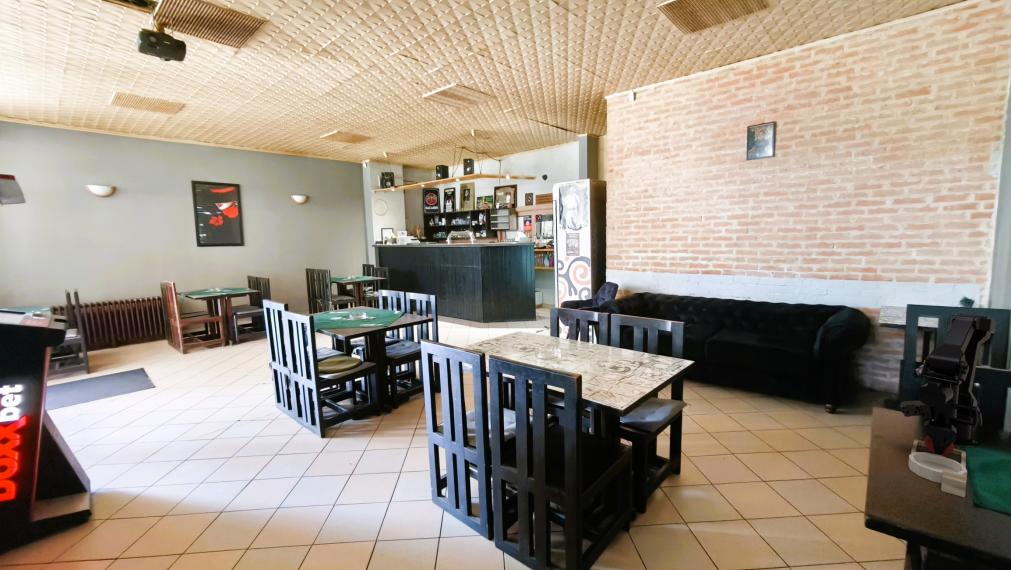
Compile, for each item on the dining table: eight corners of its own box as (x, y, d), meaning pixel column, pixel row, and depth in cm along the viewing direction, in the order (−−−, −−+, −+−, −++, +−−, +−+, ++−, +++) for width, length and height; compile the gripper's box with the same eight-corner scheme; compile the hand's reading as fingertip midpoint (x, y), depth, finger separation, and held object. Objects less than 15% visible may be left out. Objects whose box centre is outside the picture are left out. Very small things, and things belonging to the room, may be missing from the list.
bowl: (941, 462, 117) (941, 452, 117) (977, 485, 107) (978, 474, 106) (898, 461, 119) (899, 451, 118) (931, 484, 108) (931, 473, 108)
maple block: (941, 484, 108) (942, 469, 108) (964, 490, 105) (965, 475, 105) (941, 491, 105) (942, 476, 105) (964, 497, 103) (966, 482, 102)
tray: (914, 442, 128) (914, 439, 127) (965, 455, 120) (965, 451, 120) (910, 456, 121) (911, 452, 120) (965, 470, 113) (965, 466, 113)
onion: (958, 462, 117) (961, 435, 116) (934, 461, 118) (936, 434, 117) (941, 451, 122) (943, 425, 121) (918, 450, 124) (920, 424, 123)
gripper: (906, 381, 130) (903, 428, 132) (900, 400, 118) (896, 451, 120) (959, 390, 122) (955, 440, 124) (958, 411, 109) (953, 466, 111)
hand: (938, 448), depth 120 cm, fingers open, 9 cm apart
